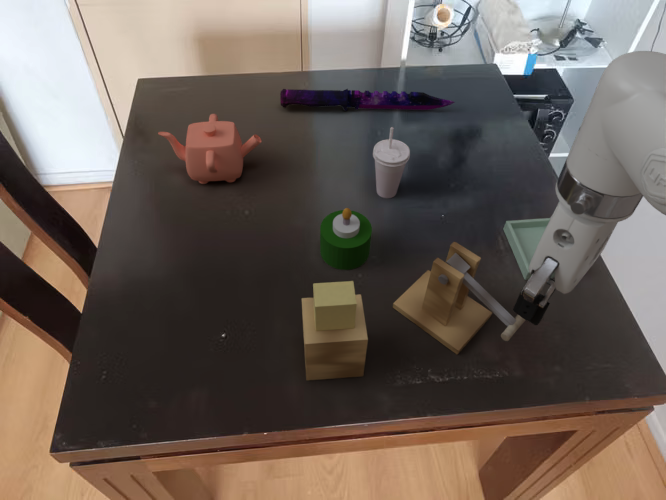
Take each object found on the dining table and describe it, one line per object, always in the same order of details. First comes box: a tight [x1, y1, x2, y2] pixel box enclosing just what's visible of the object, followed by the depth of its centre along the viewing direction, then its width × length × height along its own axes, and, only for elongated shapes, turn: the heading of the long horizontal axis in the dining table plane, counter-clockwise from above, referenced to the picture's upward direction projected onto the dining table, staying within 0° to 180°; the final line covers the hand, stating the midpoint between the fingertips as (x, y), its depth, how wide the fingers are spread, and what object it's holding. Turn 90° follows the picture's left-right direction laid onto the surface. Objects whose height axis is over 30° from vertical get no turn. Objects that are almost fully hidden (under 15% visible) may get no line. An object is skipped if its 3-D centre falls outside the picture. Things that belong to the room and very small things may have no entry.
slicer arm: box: [445, 253, 526, 342], centre depth 73 cm, size 13×5×2 cm, turn 47°
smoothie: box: [372, 126, 411, 199], centre depth 94 cm, size 6×6×14 cm
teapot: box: [157, 113, 262, 185], centre depth 99 cm, size 14×12×10 cm
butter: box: [312, 280, 357, 331], centre depth 67 cm, size 5×4×6 cm
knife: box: [279, 88, 456, 112], centre depth 114 cm, size 37×4×5 cm, turn 89°
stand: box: [301, 293, 369, 381], centre depth 73 cm, size 8×7×10 cm
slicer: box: [392, 241, 493, 355], centre depth 77 cm, size 12×9×13 cm
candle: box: [319, 207, 373, 271], centre depth 86 cm, size 8×8×10 cm
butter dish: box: [502, 217, 555, 281], centre depth 90 cm, size 11×9×2 cm
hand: (546, 292), depth 64 cm, fingers open, 9 cm apart
